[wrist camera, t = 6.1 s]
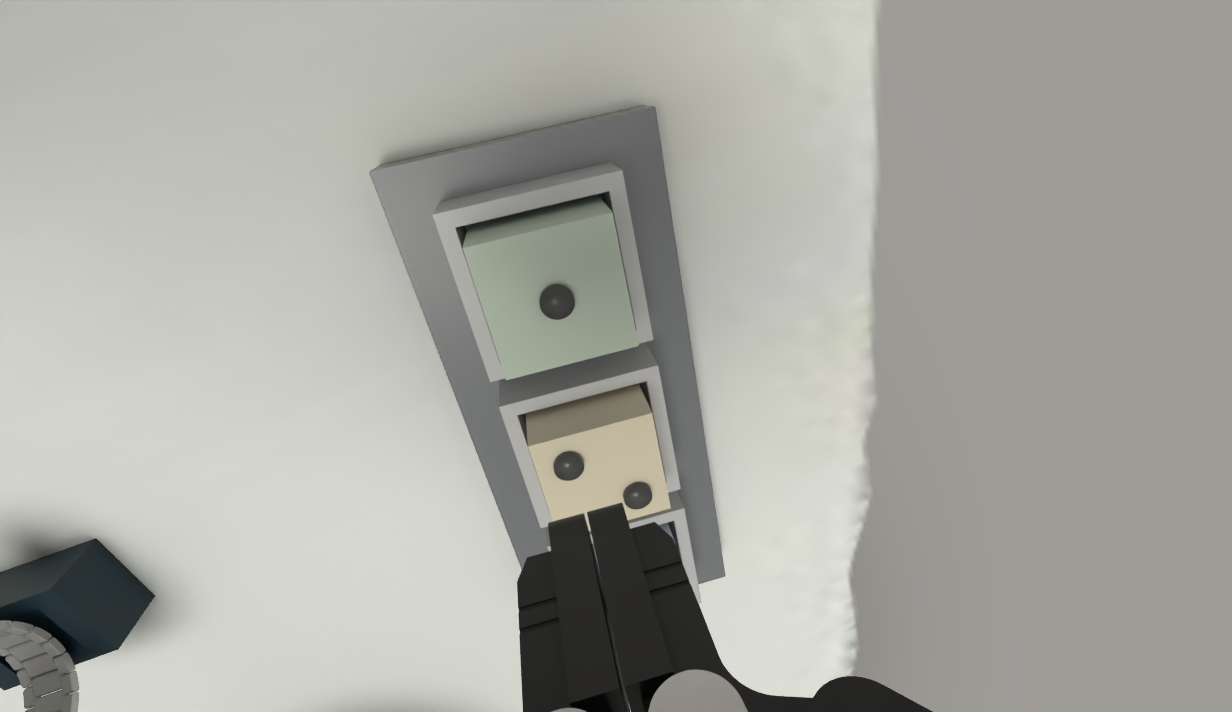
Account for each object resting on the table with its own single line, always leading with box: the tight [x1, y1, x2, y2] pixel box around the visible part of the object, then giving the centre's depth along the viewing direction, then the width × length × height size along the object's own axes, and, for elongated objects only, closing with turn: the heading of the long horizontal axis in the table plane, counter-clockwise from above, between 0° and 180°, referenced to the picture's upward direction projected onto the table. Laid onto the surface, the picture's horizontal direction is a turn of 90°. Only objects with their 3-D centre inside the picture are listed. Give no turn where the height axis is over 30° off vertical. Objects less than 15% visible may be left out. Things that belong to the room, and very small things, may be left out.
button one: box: [463, 194, 639, 380], centre depth 21 cm, size 5×5×4 cm
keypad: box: [369, 105, 725, 603], centre depth 27 cm, size 26×11×4 cm, turn 11°
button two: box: [526, 383, 671, 531], centre depth 24 cm, size 5×5×4 cm
